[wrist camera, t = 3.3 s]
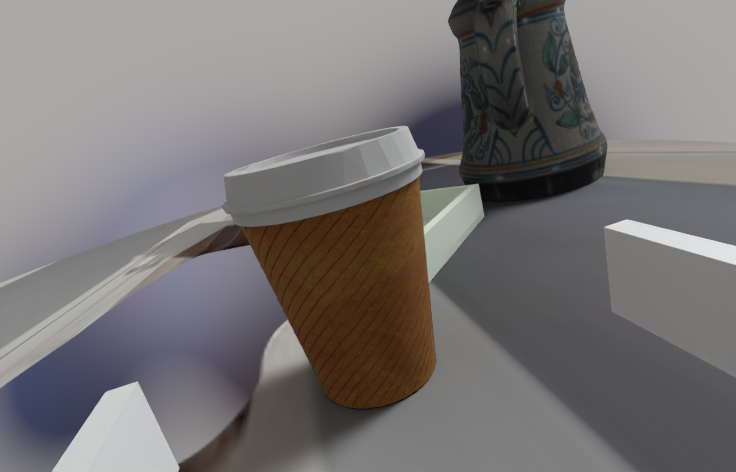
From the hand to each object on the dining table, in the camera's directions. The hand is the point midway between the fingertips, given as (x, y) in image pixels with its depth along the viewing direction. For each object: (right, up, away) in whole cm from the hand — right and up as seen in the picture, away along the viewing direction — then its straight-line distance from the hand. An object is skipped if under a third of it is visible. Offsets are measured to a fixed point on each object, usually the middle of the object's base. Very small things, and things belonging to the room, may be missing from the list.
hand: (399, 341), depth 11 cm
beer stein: (+19, +9, +38) cm, 44 cm away
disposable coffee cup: (0, -4, +11) cm, 12 cm away
